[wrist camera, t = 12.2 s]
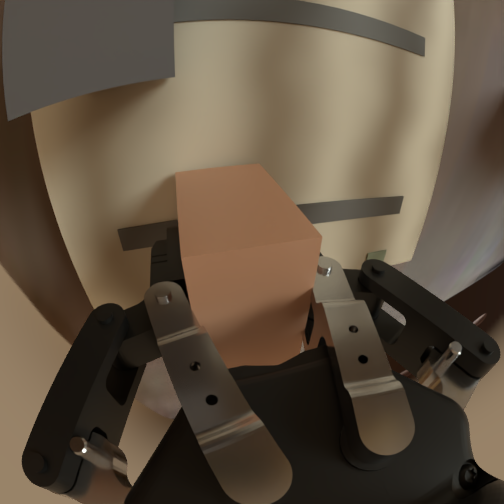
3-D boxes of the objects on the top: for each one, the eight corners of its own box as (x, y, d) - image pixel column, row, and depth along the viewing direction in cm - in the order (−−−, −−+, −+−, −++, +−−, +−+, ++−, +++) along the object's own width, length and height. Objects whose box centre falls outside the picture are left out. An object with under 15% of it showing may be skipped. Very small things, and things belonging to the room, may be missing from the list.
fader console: (431, -5, 9) (454, -5, 8) (396, 245, 21) (411, 261, 19) (48, -31, 5) (33, -41, 3) (102, 294, 17) (98, 318, 15)
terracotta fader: (259, 163, 12) (322, 236, 7) (257, 271, 16) (297, 362, 11) (175, 172, 11) (181, 258, 7) (191, 281, 15) (208, 382, 10)
